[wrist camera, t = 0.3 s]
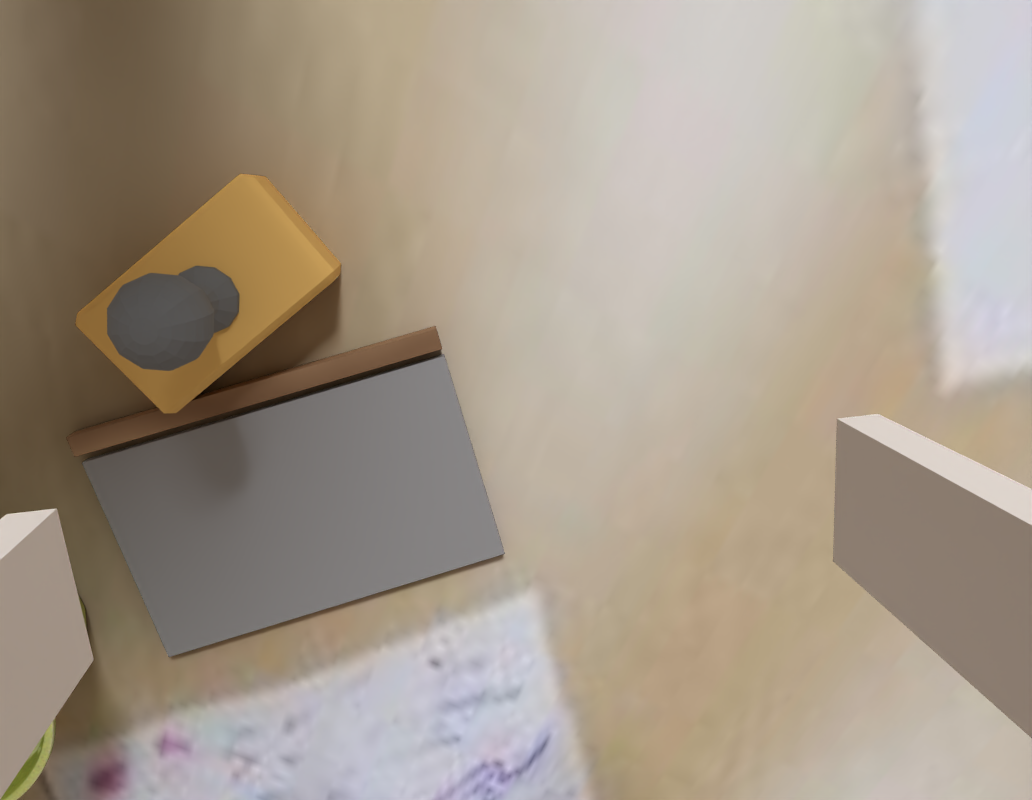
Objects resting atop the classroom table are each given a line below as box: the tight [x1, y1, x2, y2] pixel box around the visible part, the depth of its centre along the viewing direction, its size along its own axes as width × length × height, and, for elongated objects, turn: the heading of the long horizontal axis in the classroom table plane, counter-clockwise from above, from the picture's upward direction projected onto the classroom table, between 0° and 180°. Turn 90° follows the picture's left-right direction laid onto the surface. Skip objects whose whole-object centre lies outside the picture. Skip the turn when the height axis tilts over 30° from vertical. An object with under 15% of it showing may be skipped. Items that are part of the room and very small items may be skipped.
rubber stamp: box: [75, 174, 341, 413], centre depth 33 cm, size 10×6×12 cm, turn 129°
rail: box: [66, 326, 442, 457], centre depth 39 cm, size 1×18×1 cm, turn 106°
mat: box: [82, 354, 505, 657], centre depth 41 cm, size 11×18×1 cm, turn 106°
